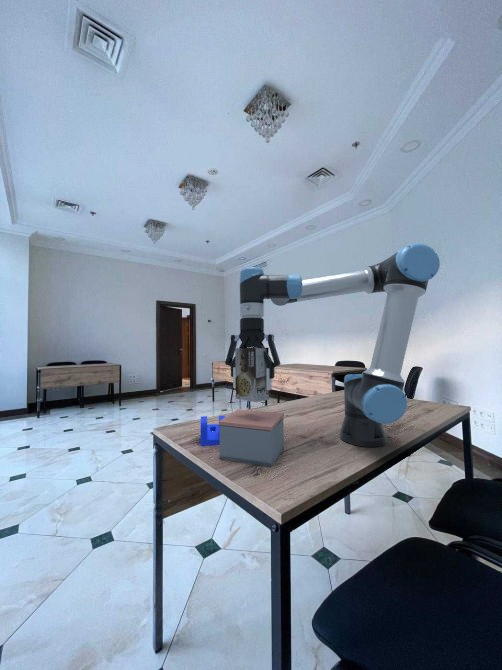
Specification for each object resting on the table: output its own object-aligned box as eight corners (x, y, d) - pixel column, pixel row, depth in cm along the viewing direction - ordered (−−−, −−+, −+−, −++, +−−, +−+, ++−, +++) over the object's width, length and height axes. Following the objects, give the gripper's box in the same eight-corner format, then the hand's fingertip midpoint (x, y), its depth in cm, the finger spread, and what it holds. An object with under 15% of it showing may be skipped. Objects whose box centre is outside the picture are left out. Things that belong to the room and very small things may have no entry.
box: (283, 448, 90) (283, 418, 90) (271, 467, 77) (270, 431, 77) (238, 442, 95) (238, 414, 96) (219, 458, 82) (219, 425, 83)
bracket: (225, 445, 94) (225, 418, 94) (200, 446, 93) (200, 419, 93) (223, 428, 112) (223, 406, 112) (202, 429, 111) (202, 407, 111)
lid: (283, 416, 90) (283, 413, 90) (271, 430, 77) (271, 427, 77) (237, 412, 96) (237, 409, 96) (218, 424, 83) (218, 421, 83)
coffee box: (270, 399, 86) (269, 347, 86) (256, 402, 81) (255, 347, 81) (248, 395, 92) (248, 347, 92) (234, 398, 87) (234, 347, 88)
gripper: (214, 318, 88) (214, 388, 87) (284, 315, 80) (285, 392, 79) (224, 319, 95) (224, 384, 94) (290, 317, 87) (290, 388, 86)
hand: (252, 388), depth 87 cm, fingers closed on coffee box, 10 cm apart
